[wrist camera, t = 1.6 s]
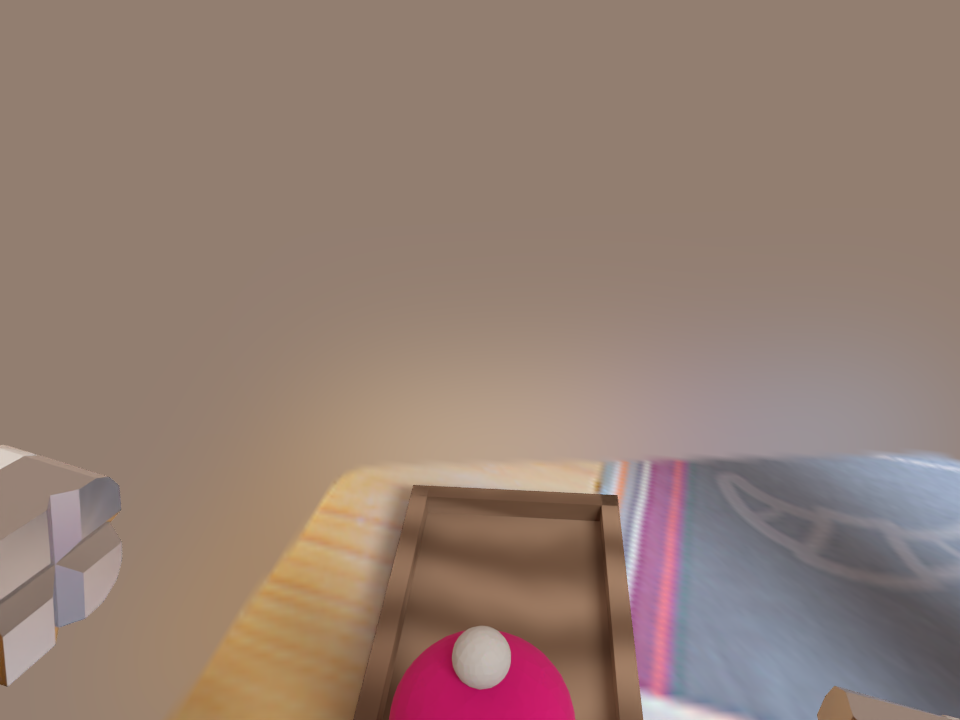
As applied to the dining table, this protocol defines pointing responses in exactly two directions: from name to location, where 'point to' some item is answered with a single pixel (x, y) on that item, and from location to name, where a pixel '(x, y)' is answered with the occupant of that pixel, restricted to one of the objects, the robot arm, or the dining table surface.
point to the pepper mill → (482, 681)
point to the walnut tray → (512, 590)
